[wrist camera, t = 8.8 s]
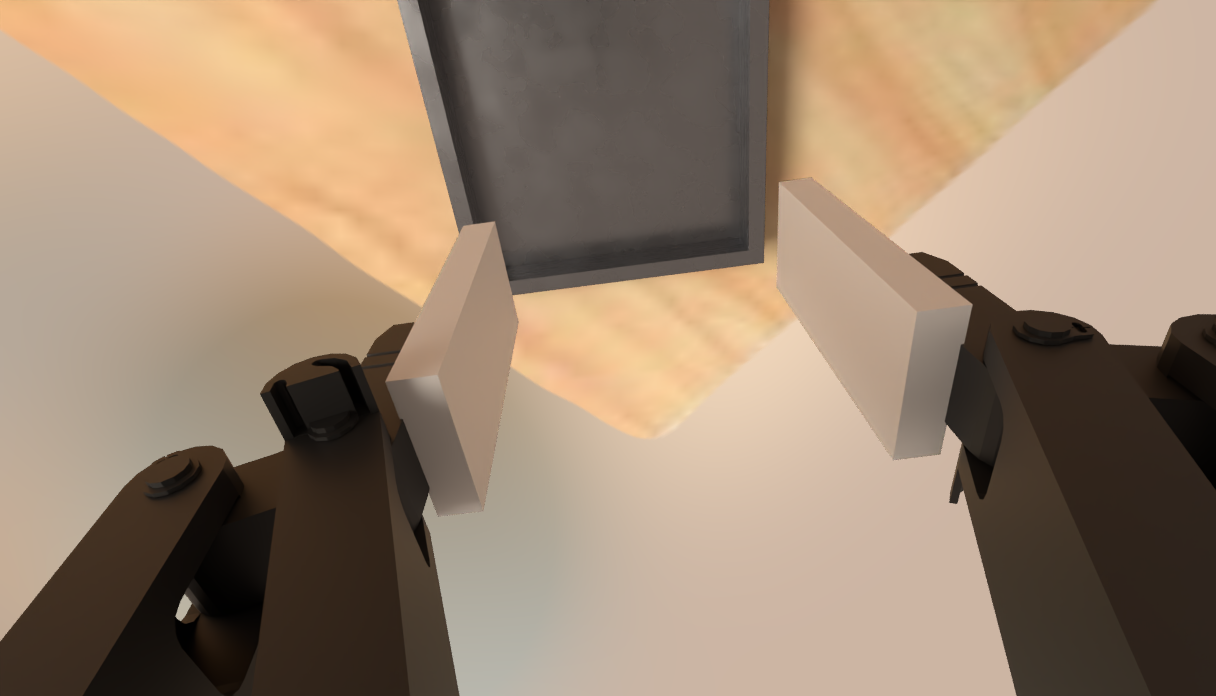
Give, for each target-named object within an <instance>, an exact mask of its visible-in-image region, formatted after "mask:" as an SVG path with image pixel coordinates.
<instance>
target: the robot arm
mask: <svg viewBox="0 0 1216 696" xmlns="http://www.w3.org/2000/svg"><path fill="white" fill-rule="evenodd" d="M777 289H778V290H779V292H780V293H781V295H782V296H783V297H784V299H785V300H786V302H787V303H788V305H789V306H790V308H791V309H792V311H793V312H794V314H795V315H796V317H797V318H798V320H799V321H800V323H801V324H802V326H803V327H804V329H805V330H806V331H807V333H808V335H809V336H810V338H811V339H812V341H813V342H814V344H815V345H816V347H817V348H818V349H819V351H820V352H821V354H822V355H823V357H824V358H825V360H826V361H827V363H828V364H829V366H830V367H831V369H832V370H833V372H834V373H835V375H836V376H837V378H838V379H839V381H840V382H841V384H842V385H843V387H844V388H845V390H846V391H847V392H848V394H849V396H850V397H851V399H852V400H853V401H854V403H855V404H856V405H857V407H858V409H859V410H860V412H861V413H862V415H863V416H864V418H865V419H866V421H867V422H868V424H869V425H870V427H871V428H872V430H873V431H874V433H875V434H876V435H877V437H878V439H879V440H880V442H881V443H882V444H883V446H884V447H885V449H886V450H887V452H888V453H889V455H890V456H891V458H892V459H893V460H899V459H907V458H915V457H923V456H931V455H939V454H941V449H942V444H943V440H944V434H945V430H946V425H948V426H949V428H950V429H951V430H952V431H953V432H954V433H955V435H956V436H957V437H958V438H959V439H960V440H961V442H962V445H961V449H960V453H959V458H958V462H957V466H956V470H955V475H954V479H953V483H952V487H951V492H950V501H949V502H950V503H955V504H957V502H958V498H959V495H960V492H962V491H963V490H964V493H965V497H966V501H967V505H968V509H969V513H970V517H971V520H972V524H973V528H974V532H975V536H976V540H977V544H978V548H979V551H980V555H981V559H982V563H983V567H984V571H985V574H986V579H987V583H988V586H989V590H990V594H991V598H992V602H993V606H994V609H995V614H996V617H997V621H998V625H999V629H1000V633H1001V636H1002V640H1003V644H1004V648H1005V652H1006V656H1007V660H1008V664H1009V668H1010V672H1011V675H1012V679H1013V683H1014V687H1015V691H1016V695H1017V696H1216V315H1211V314H1207V315H1206V314H1197V315H1192V316H1187V317H1181V318H1179V319H1178V320H1176V321H1175V322H1173V323H1172V324H1171V326H1170V328H1169V330H1168V332H1167V335H1166V337H1165V340H1164V342H1163V345H1162V347H1158V346H1135V345H1111V344H1108V342H1107V341H1106V339H1105V338H1104V337H1103V335H1102V334H1101V333H1099V332H1098V331H1097V330H1096V329H1095V328H1093V327H1092V326H1091V325H1089V324H1087V323H1085V322H1083V321H1080V320H1078V319H1076V318H1073V317H1069V316H1065V315H1061V314H1058V313H1054V312H1045V311H1034V310H1027V311H1016V310H1014V309H1013V308H1011V307H1010V306H1009V305H1007V304H1006V303H1004V302H1003V301H1002V300H1000V299H999V298H998V297H996V296H995V295H994V294H992V293H991V292H989V291H988V290H987V289H985V288H984V287H982V286H978V283H977V282H976V281H974V280H973V279H971V278H970V277H969V276H964V273H963V272H962V271H960V270H959V269H958V268H956V267H955V266H954V265H952V264H951V263H949V262H948V261H946V260H943V259H940V258H937V257H934V256H932V255H929V254H926V253H923V252H919V253H912V254H908V253H906V252H905V251H904V250H903V249H902V248H900V247H899V246H898V245H896V244H895V243H894V242H893V241H891V240H890V239H889V238H888V237H886V236H885V235H884V234H883V233H881V232H880V231H879V230H877V229H876V228H875V227H874V226H872V225H871V224H870V223H869V222H867V221H866V220H865V219H864V218H862V217H861V216H860V215H858V214H857V213H856V212H855V211H853V210H852V209H851V208H850V207H848V206H847V205H846V204H845V203H843V202H842V201H841V200H839V199H838V198H837V197H836V196H834V195H833V194H832V193H831V192H829V191H828V190H827V189H826V188H824V187H823V186H822V185H820V184H819V183H818V182H817V181H815V180H814V179H813V178H812V177H811V178H804V179H796V180H789V181H782V182H779V202H778V247H777ZM517 327H518V318H517V313H516V309H515V305H514V301H513V296H512V292H511V288H510V284H509V279H508V275H507V271H506V267H505V263H504V258H503V254H502V250H501V246H500V241H499V237H498V233H497V229H496V224H495V222H487V223H480V224H473V225H466V226H463V227H462V229H461V231H460V233H459V235H458V237H457V239H456V241H455V243H454V245H453V247H452V249H451V251H450V253H449V255H448V257H447V259H446V261H445V263H444V265H443V267H442V269H441V271H440V273H439V275H438V277H437V279H436V281H435V283H434V285H433V287H432V289H431V291H430V293H429V295H428V297H427V299H426V301H425V303H424V305H423V307H422V310H421V311H420V313H419V315H418V317H417V320H416V321H415V322H413V323H406V324H398V325H393V326H392V327H391V328H389V329H388V330H387V331H386V332H384V333H383V334H382V335H381V336H379V337H378V338H377V339H376V340H375V341H374V343H373V345H372V346H371V348H370V350H369V352H368V353H367V357H366V358H364V360H363V362H362V364H361V365H360V363H359V361H358V359H357V358H356V357H354V356H351V355H348V354H328V355H322V356H317V357H313V358H310V359H307V360H305V361H302V362H299V363H296V364H294V365H292V366H290V367H289V368H287V369H285V370H284V371H281V372H280V373H278V374H277V375H276V376H274V377H273V378H272V379H271V380H270V381H269V382H267V383H266V385H265V386H264V388H263V390H262V391H261V393H260V395H261V397H262V399H263V401H264V402H265V404H266V406H267V408H268V410H269V412H270V414H271V416H272V417H273V419H274V421H275V423H276V425H277V427H278V429H279V430H280V432H281V434H282V436H283V438H284V440H285V445H284V451H281V452H279V453H276V454H273V455H270V456H267V457H264V458H261V459H258V460H255V461H252V462H248V463H245V464H242V465H239V466H236V467H233V465H232V464H231V462H230V460H229V459H228V457H227V456H226V454H225V452H224V451H223V449H220V448H217V447H214V446H200V447H193V448H189V449H186V450H183V451H176V452H174V453H171V454H169V455H167V457H165V456H164V457H162V458H160V459H158V460H156V461H155V462H153V463H152V464H151V465H150V466H149V467H147V468H146V469H144V470H143V471H141V472H140V473H138V474H137V475H136V476H135V477H134V478H133V479H132V480H131V481H130V482H129V483H128V484H126V485H125V486H124V488H123V489H122V490H121V491H120V492H119V494H118V495H117V496H116V497H115V499H114V500H113V501H112V503H111V504H110V505H109V506H108V507H107V509H106V510H105V511H104V512H103V514H102V515H101V516H100V518H99V519H98V520H97V521H96V523H95V524H94V525H93V526H92V527H91V529H90V530H89V531H88V533H87V534H86V535H85V536H84V537H83V539H82V540H81V541H80V542H79V544H78V545H77V546H76V548H75V549H74V550H73V551H72V553H71V554H70V555H69V556H68V557H67V559H66V560H65V561H64V562H63V564H62V565H61V566H60V567H59V569H58V570H57V571H56V572H55V574H54V575H53V576H52V578H51V579H50V580H49V581H48V582H47V584H46V585H45V586H44V588H43V589H42V590H41V591H40V593H39V594H38V595H37V596H36V598H35V599H34V600H33V601H32V603H31V604H30V605H29V606H28V608H27V609H26V610H25V611H24V613H23V614H22V615H21V616H20V618H19V619H18V620H17V621H16V623H15V624H14V625H13V626H12V628H11V629H10V630H9V631H8V633H7V634H6V635H5V636H4V638H3V639H2V640H1V641H0V696H459V691H458V686H457V680H456V675H455V669H454V664H453V658H452V652H451V647H450V641H449V636H448V630H447V625H446V619H445V614H444V608H443V603H442V597H441V592H440V586H439V580H438V575H437V569H436V564H435V558H434V553H433V547H432V542H431V536H430V532H429V530H428V527H427V525H426V522H425V520H424V518H423V515H422V513H423V510H424V506H425V503H426V500H427V497H428V493H429V494H430V497H431V499H432V502H433V505H434V507H435V510H436V512H437V515H438V517H440V516H448V515H455V514H464V513H472V512H480V511H483V510H484V505H485V499H486V494H487V488H488V483H489V478H490V472H491V467H492V461H493V456H494V451H495V446H496V439H497V435H498V429H499V423H500V419H501V413H502V408H503V402H504V397H505V391H506V386H507V381H508V376H509V370H510V365H511V360H512V354H513V349H514V343H515V338H516V333H517ZM184 594H185V595H186V596H187V597H188V598H189V600H190V601H191V602H192V605H191V607H190V608H189V610H188V612H187V614H186V616H185V617H184V618H183V620H182V621H179V620H178V619H177V618H176V617H175V616H176V613H177V609H178V607H179V603H180V601H181V599H182V597H183V595H184Z"/></svg>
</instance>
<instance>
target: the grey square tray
mask: <svg viewBox="0 0 1216 696" xmlns="http://www.w3.org/2000/svg"><path fill="white" fill-rule="evenodd" d="M397 1H398V5H399V9H400V13H401V16H402V20H403V24H404V28H405V32H406V35H407V39H408V43H409V47H410V50H411V54H412V58H413V62H414V65H415V69H416V73H417V77H418V80H419V84H420V88H421V92H422V95H423V99H424V103H425V107H426V110H427V114H428V118H429V122H430V126H431V129H432V133H433V137H434V141H435V144H436V148H437V152H438V156H439V159H440V163H441V167H442V171H443V174H444V178H445V182H446V186H447V189H448V193H449V197H450V201H451V204H452V208H453V212H454V216H455V220H456V223H457V227H458V231H459V233H460V231H461V229H462V227H463V226H466V225H473V224H480V223H487V222H495V224H496V229H497V233H498V237H499V241H500V246H501V250H502V254H503V258H504V263H505V267H506V271H507V275H508V279H509V284H510V288H511V292H512V295H518V294H525V293H533V292H541V291H549V290H556V289H564V288H572V287H580V286H587V285H595V284H603V283H611V282H618V281H626V280H634V279H642V278H650V277H657V276H665V275H673V274H681V273H688V272H696V271H704V270H712V269H719V268H727V267H735V266H743V265H750V264H758V263H764V228H765V180H766V132H767V84H768V35H769V0H397Z"/></svg>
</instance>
